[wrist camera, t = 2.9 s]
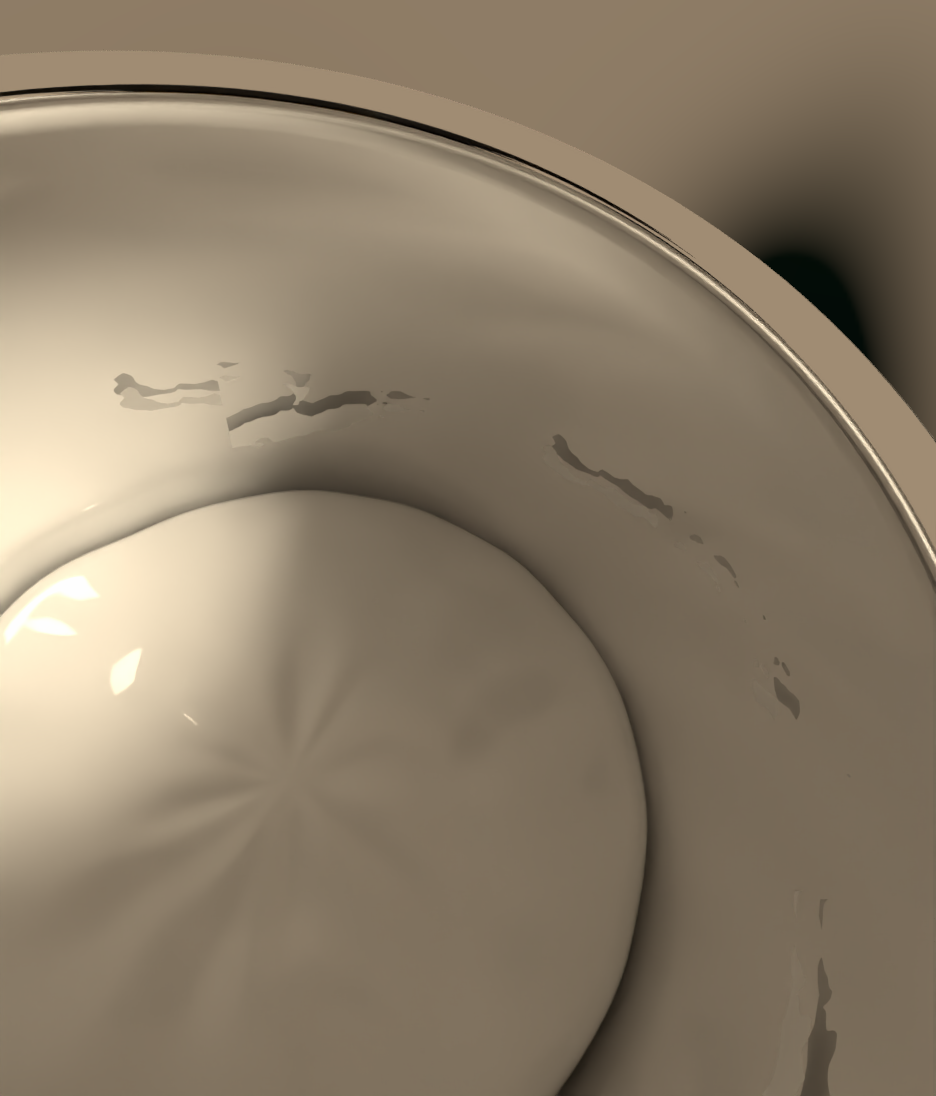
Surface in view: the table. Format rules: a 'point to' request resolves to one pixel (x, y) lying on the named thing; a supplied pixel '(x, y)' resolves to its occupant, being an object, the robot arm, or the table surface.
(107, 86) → the silver metal cup
